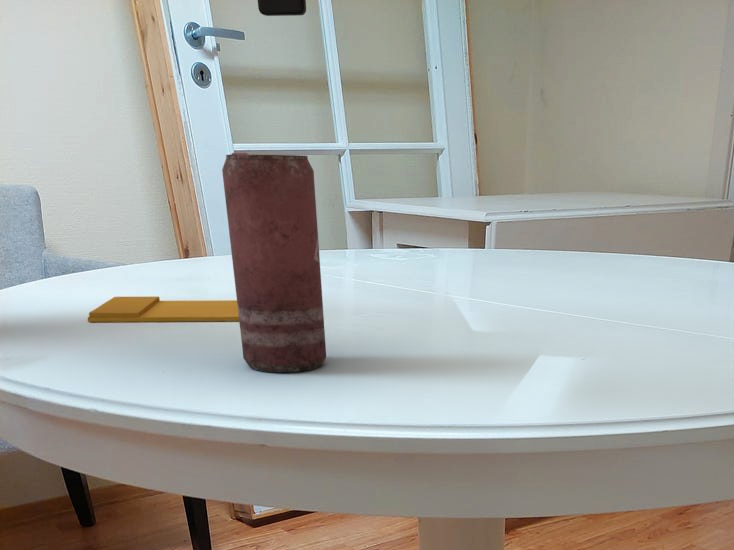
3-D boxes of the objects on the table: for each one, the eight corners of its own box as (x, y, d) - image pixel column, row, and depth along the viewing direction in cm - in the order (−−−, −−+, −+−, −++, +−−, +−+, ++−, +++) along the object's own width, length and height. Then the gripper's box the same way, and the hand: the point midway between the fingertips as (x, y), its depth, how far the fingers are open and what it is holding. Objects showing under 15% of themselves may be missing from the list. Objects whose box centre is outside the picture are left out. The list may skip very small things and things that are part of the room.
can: (261, 354, 70) (240, 152, 63) (337, 358, 69) (325, 153, 62) (227, 370, 65) (200, 152, 58) (309, 375, 64) (291, 154, 57)
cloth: (87, 322, 81) (86, 312, 81) (113, 304, 90) (112, 296, 90) (308, 320, 84) (307, 311, 83) (313, 304, 92) (312, 296, 92)
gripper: (217, -308, 56) (250, 22, 64) (67, -477, 41) (135, -17, 49) (333, -315, 55) (351, 21, 63) (223, -491, 40) (266, -19, 48)
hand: (257, 4), depth 56 cm, fingers open, 9 cm apart
